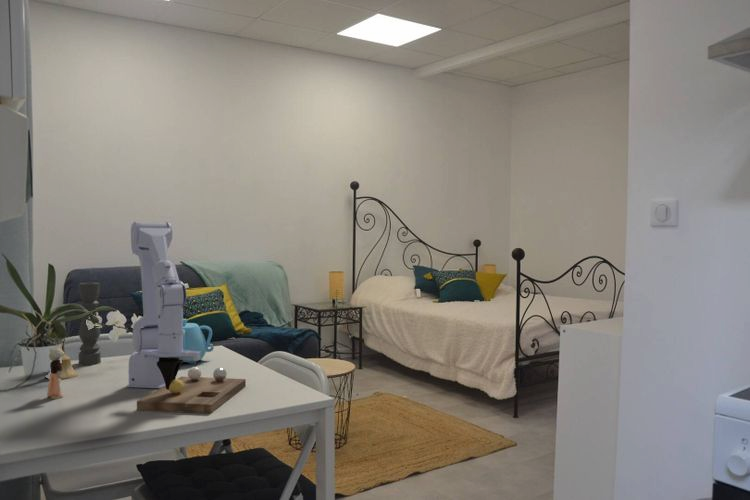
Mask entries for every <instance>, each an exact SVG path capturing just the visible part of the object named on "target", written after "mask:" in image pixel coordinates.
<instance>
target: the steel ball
mask: <svg viewBox="0 0 750 500" xmlns="http://www.w3.org/2000/svg"><path fill="white" fill-rule="evenodd" d="M227 377H228V373H227V370H226V369H225V368H224V367H218V368H216V369H215V370H214V371H213V373H212V378H214V379H215V380H217V381H223V380H224V379H225V378H227Z"/></svg>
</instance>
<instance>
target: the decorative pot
mask: <svg viewBox="0 0 750 500" xmlns="http://www.w3.org/2000/svg"><path fill="white" fill-rule="evenodd" d="M203 329H205V330H207V331H208V336H207V340H206V338H205V336H204V334H203V331H202V330H203ZM212 336H213V330H212V328H211V327H210V326H209V325H199V324H197V323H195V322H188V319H187V318H183V350H190V351H200V360H202V359H203V357H204V356H206V353H211V352H213V350H214V348H215V347H214V344H213V343H211V340H212ZM209 347H210V348H209ZM182 363H188V364H189V365H194V364H197V363H198V361H193V360H183V362H182Z"/></svg>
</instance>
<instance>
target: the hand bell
mask: <svg viewBox="0 0 750 500" xmlns="http://www.w3.org/2000/svg"><path fill="white" fill-rule="evenodd" d="M65 329H66V330H67V328H66V326H65ZM65 340H66V338H65V339H64V341H63V346H62V351H63V352H64V355H63V356H62V363H61V367H62V374H61V375H62V378H61V380H62V381H63V380H68V379H72V378H76V377H77V376H78V375H79V374H78V373H77V371H75V370H74V368H73V365H72V362H71V357H70V356H68V355H67V354H66V353H65V351H66V350H65Z"/></svg>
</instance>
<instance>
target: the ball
mask: <svg viewBox="0 0 750 500" xmlns="http://www.w3.org/2000/svg"><path fill="white" fill-rule="evenodd" d="M183 387H184V385H183V382H182V381H181V380H179V379H178V378H176V379H174V380H172V381H171V384H170V386H169V391H170V392H171V393H173V394H178V393H180V392H181V391H182V390H183Z"/></svg>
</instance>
